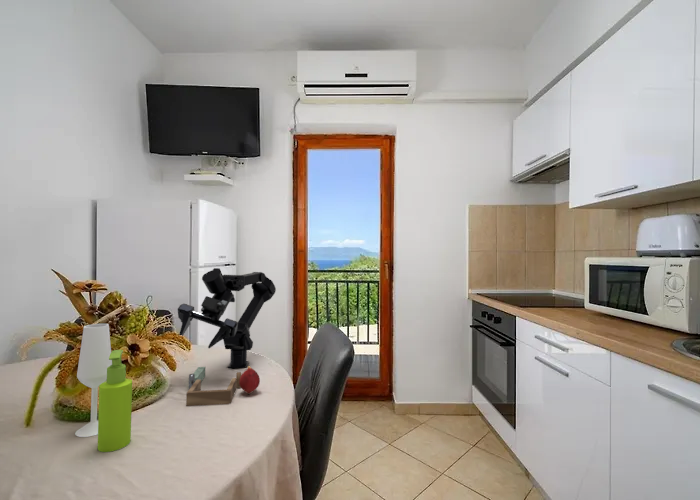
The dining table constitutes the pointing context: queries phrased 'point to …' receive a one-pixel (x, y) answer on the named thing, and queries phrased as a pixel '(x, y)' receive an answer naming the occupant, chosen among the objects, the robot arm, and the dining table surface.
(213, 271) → the robot arm
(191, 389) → the brown u-shaped frame
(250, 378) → the pomegranate
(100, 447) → the soap dispenser
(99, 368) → the champagne flute
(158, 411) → the dining table surface
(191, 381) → the pin
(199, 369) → the leg bar
